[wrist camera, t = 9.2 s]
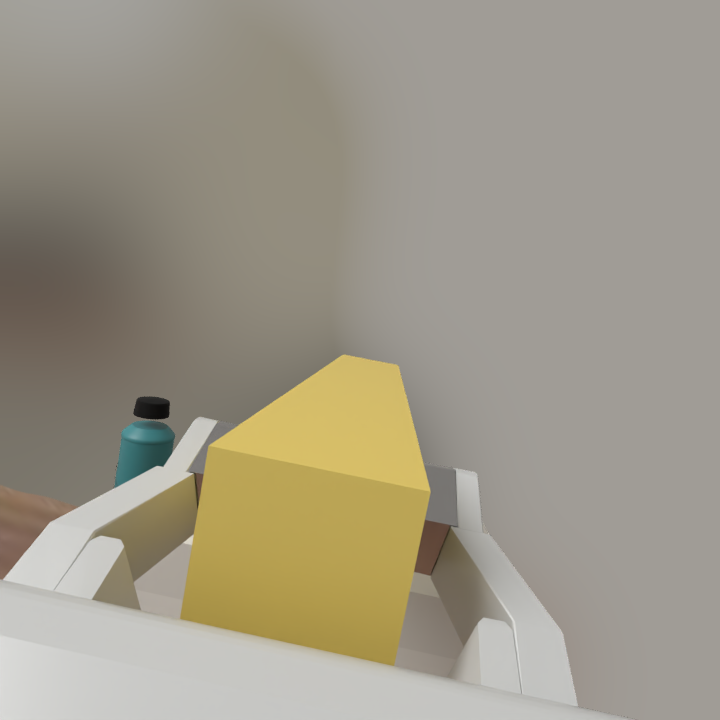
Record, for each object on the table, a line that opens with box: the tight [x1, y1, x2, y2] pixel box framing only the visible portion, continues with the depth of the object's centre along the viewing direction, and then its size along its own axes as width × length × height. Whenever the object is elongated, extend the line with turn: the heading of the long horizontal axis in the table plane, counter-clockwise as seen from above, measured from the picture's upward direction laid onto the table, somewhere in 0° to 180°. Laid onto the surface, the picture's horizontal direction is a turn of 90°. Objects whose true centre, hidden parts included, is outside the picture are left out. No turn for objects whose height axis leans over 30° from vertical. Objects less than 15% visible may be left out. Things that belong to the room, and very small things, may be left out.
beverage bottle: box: [114, 397, 175, 488], centre depth 59 cm, size 6×7×20 cm
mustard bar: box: [180, 355, 431, 666], centre depth 18 cm, size 22×4×3 cm, turn 177°
